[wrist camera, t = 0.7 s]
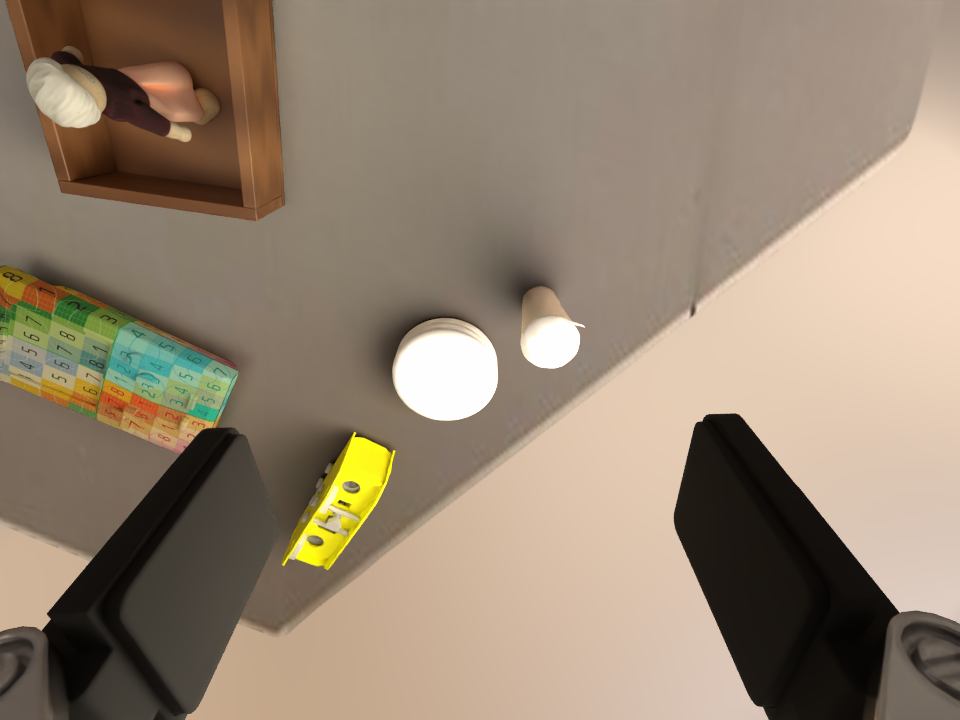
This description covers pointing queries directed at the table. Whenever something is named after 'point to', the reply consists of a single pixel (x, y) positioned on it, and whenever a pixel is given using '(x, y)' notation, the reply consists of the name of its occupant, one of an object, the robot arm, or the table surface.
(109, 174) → the crate
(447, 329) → the white short cylinder
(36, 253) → the table surface
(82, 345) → the puzzle game
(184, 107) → the grandmother figurine
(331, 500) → the yellow toy chassis
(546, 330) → the milkshake
